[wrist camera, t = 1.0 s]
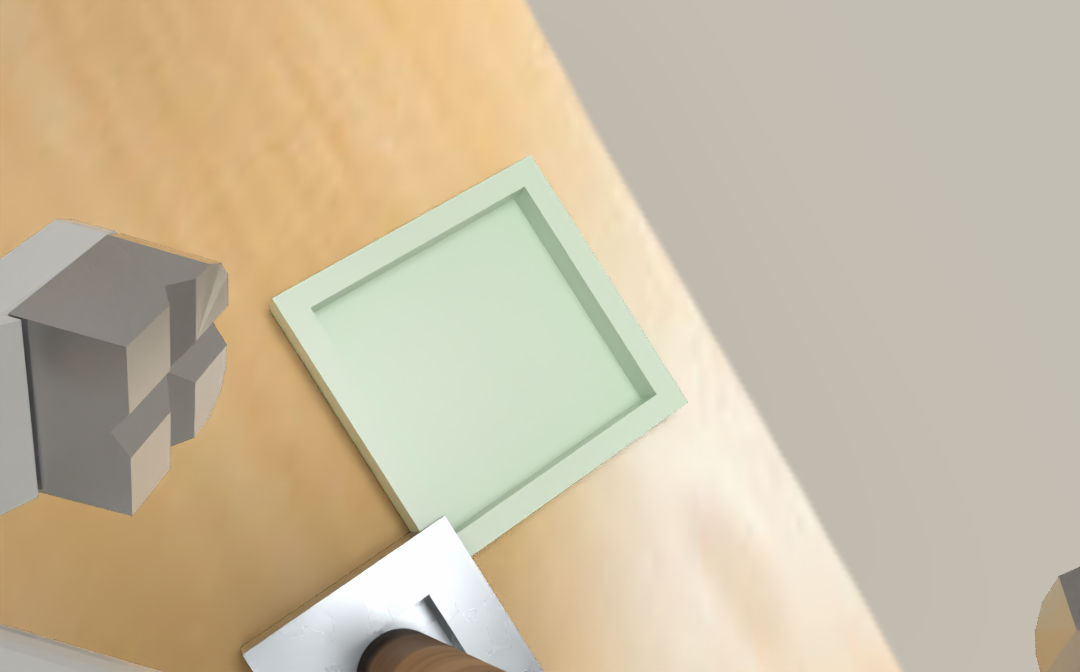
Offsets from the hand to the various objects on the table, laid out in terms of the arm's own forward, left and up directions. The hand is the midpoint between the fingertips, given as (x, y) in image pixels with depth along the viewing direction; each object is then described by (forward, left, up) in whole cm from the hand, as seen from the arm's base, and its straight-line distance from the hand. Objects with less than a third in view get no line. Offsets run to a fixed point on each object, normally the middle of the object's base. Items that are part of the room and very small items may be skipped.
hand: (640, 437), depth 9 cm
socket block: (+8, 0, -39) cm, 40 cm away
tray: (-2, +11, -39) cm, 40 cm away
